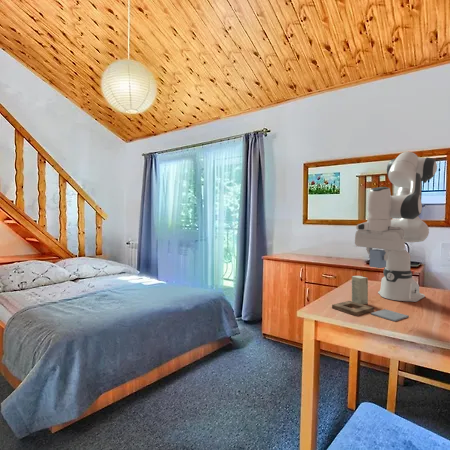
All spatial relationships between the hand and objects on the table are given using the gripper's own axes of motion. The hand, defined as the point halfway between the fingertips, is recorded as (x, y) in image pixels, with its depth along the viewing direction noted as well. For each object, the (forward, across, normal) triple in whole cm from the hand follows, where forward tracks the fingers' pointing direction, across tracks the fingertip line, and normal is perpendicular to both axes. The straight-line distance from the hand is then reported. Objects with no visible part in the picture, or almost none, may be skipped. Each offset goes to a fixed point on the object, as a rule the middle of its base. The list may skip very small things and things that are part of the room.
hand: (378, 259), depth 129 cm
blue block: (+3, 0, 0) cm, 3 cm away
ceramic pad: (+23, -4, -2) cm, 23 cm away
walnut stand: (+23, +9, +4) cm, 25 cm away
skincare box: (+23, +14, -8) cm, 28 cm away
